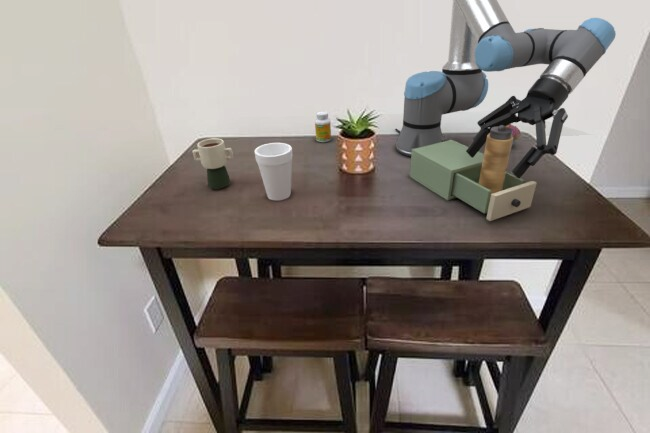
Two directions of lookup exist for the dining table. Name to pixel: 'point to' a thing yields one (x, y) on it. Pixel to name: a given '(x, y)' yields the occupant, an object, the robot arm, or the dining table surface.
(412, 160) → the cabinet
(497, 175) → the pepper mill
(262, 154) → the foam cup
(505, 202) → the drawer
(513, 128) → the cupcake
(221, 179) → the character mug
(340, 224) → the dining table surface
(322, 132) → the supplement bottle
